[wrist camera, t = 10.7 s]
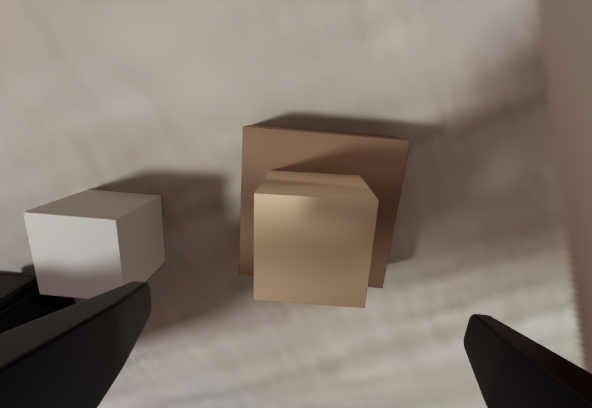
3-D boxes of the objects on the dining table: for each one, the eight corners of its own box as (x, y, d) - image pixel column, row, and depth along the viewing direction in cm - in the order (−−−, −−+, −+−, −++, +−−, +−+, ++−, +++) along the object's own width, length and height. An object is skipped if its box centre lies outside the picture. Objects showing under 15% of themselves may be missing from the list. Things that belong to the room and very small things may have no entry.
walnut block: (373, 264, 22) (382, 288, 19) (248, 252, 22) (238, 273, 19) (395, 136, 19) (410, 140, 16) (253, 124, 19) (243, 126, 16)
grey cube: (165, 260, 22) (125, 302, 17) (98, 254, 22) (40, 294, 17) (161, 194, 21) (115, 219, 16) (89, 188, 21) (22, 212, 16)
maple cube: (351, 256, 18) (364, 307, 14) (268, 251, 18) (253, 300, 14) (359, 175, 17) (378, 200, 12) (270, 170, 17) (253, 193, 12)
